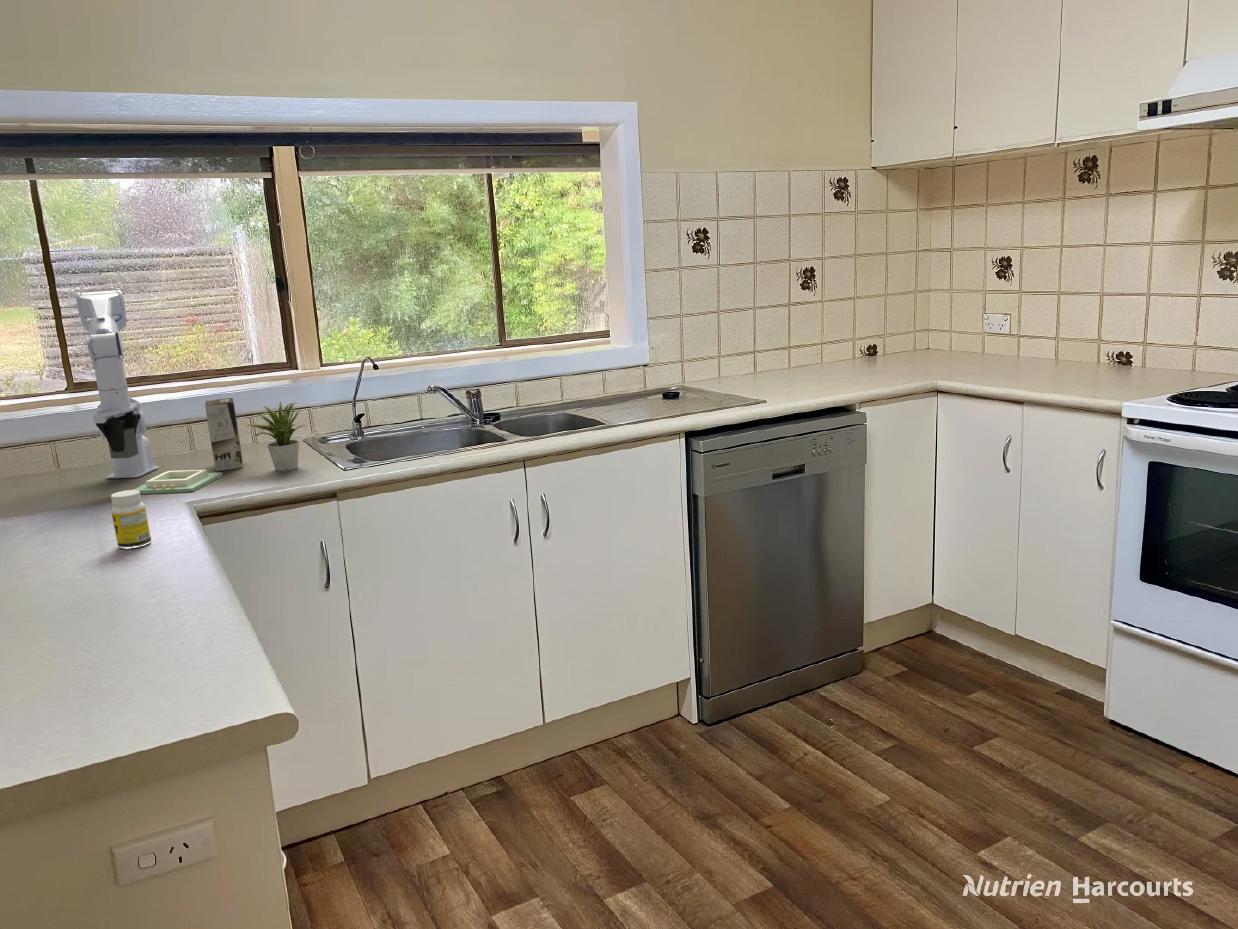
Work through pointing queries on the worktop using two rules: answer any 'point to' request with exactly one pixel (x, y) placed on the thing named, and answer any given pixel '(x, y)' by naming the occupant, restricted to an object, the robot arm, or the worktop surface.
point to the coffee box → (224, 434)
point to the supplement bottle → (130, 519)
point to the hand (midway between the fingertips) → (124, 449)
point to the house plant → (281, 438)
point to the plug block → (127, 445)
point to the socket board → (178, 481)
